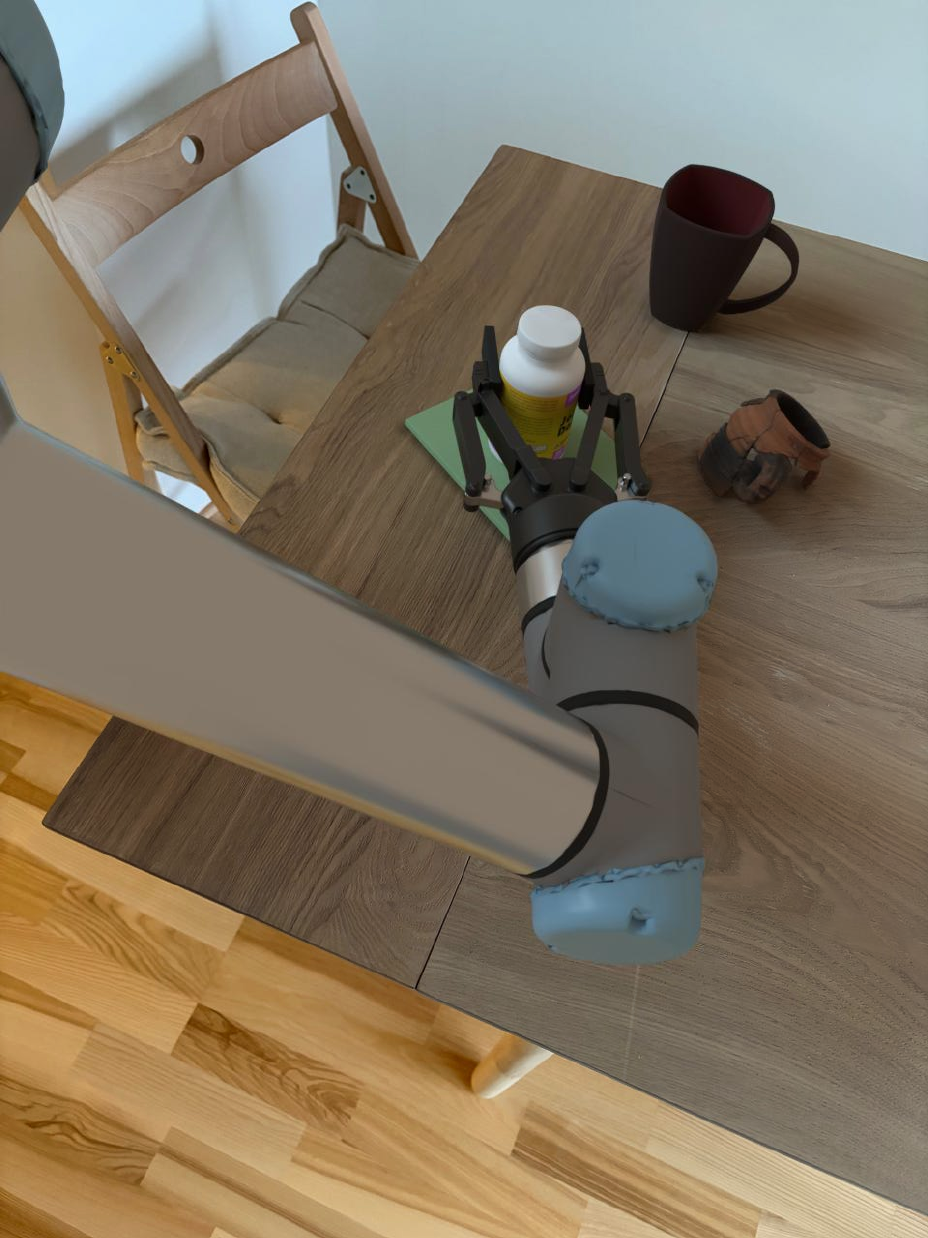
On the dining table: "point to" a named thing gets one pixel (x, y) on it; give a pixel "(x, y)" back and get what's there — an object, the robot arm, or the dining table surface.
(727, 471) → the pottery mug
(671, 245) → the mug
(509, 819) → the robot arm
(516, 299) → the dining table surface
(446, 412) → the green mat
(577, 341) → the supplement bottle
